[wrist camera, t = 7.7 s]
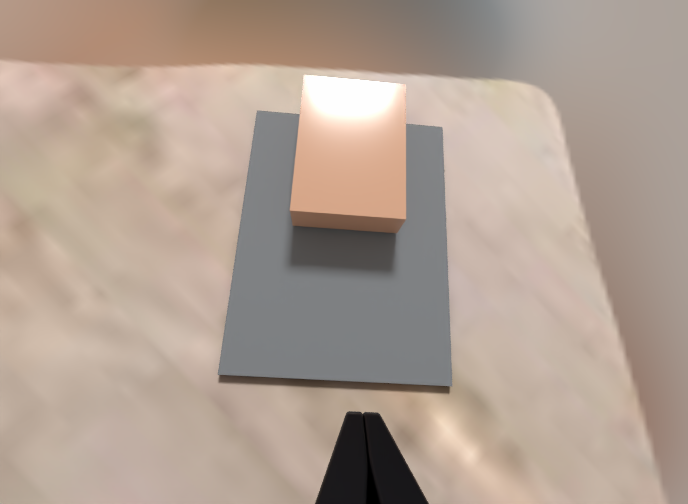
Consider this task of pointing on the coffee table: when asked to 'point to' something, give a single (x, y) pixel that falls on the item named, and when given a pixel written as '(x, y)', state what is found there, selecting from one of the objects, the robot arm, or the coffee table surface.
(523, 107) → the coffee table surface
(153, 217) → the coffee table surface
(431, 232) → the mat
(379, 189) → the peach rectangular block
